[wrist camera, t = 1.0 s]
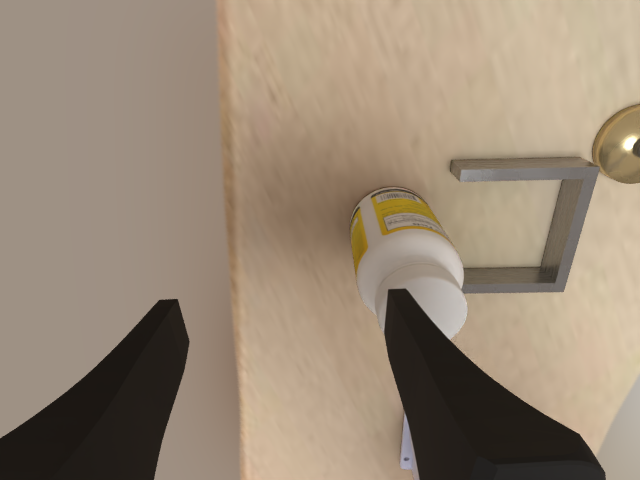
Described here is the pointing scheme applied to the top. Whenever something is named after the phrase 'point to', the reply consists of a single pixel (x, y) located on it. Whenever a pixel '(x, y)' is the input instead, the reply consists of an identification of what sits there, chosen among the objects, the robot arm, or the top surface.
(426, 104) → the top surface
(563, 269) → the bracket
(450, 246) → the supplement bottle
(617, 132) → the gold disc
